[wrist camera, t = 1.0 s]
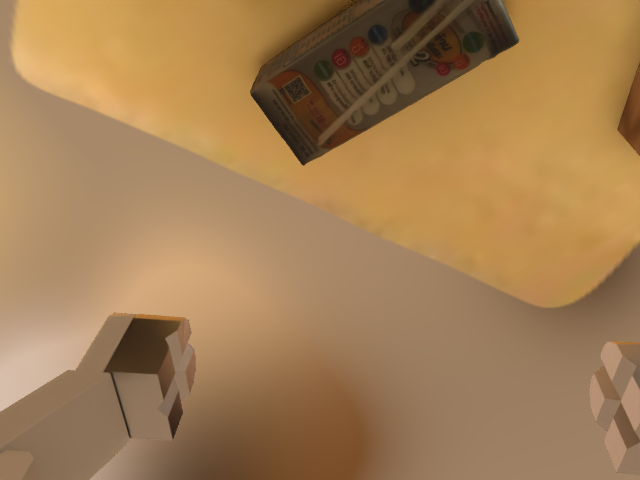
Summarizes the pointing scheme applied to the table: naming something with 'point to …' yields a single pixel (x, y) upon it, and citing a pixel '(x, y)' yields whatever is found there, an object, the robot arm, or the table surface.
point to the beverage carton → (374, 66)
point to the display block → (632, 116)
